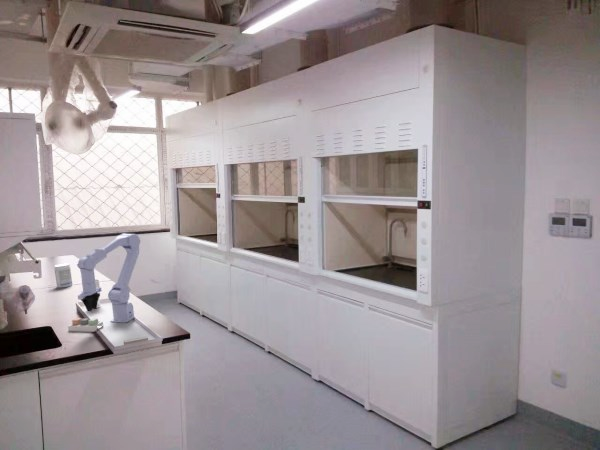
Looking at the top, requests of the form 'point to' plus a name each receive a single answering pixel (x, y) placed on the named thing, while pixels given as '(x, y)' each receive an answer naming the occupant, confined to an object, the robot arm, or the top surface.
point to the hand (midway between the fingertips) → (91, 310)
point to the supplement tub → (63, 275)
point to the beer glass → (98, 292)
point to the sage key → (93, 321)
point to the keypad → (84, 327)
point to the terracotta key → (76, 321)
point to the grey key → (84, 321)
